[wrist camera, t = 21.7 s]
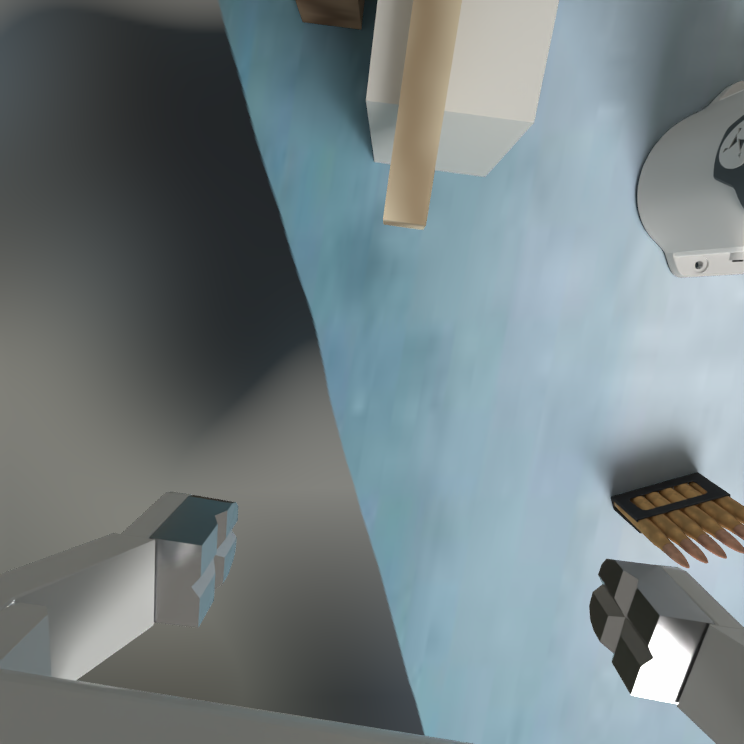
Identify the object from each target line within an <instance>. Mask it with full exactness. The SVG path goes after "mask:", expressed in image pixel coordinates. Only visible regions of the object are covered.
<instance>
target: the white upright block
mask: <svg viewBox="0 0 744 744" xmlns="http://www.w3.org/2000/svg"><path fill="white" fill-rule="evenodd" d="M558 3H559V0H462V4H461V10H460V16H459V23H458V29H457V35H456V41H455V48H454V54H453V60H452V66H451V72H450V79H449V85H448V91H447V97H446V103H445V110H444V116H443V122H442V128H441V134H440V141H439V147H438V153H437V159H436V165H435V170H436V171H444V172H451V173H459V174H466V175H473V176H481V177H486V176H487V175H488V173H489V172H490V171H491V170H492V169H493V168H494V167H495V166H496V165H497V163H498V162H499V161H500V160H501V159H502V158H503V157H504V156H505V154H506V153H507V152H508V151H509V150H510V149H511V148H512V147H513V146H514V144H515V143H516V142H517V141H518V140H519V139H520V138H521V137H522V136H523V134H524V133H525V132H526V131H527V130H528V129H529V128H530V127H531V125H532V124H533V123H534V120H535V115H536V110H537V105H538V101H539V96H540V91H541V86H542V81H543V76H544V71H545V66H546V62H547V57H548V52H549V47H550V42H551V37H552V32H553V27H554V22H555V18H556V13H557V8H558ZM412 5H413V0H378V2H377V10H376V19H375V27H374V36H373V44H372V53H371V61H370V70H369V78H368V87H367V95H366V105H367V112H368V119H369V126H370V133H371V140H372V147H373V155H374V162H377V163H385V164H391V158H392V151H393V143H394V136H395V129H396V122H397V114H398V107H399V100H400V93H401V85H402V78H403V71H404V63H405V56H406V49H407V42H408V34H409V27H410V20H411V13H412Z"/></svg>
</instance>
